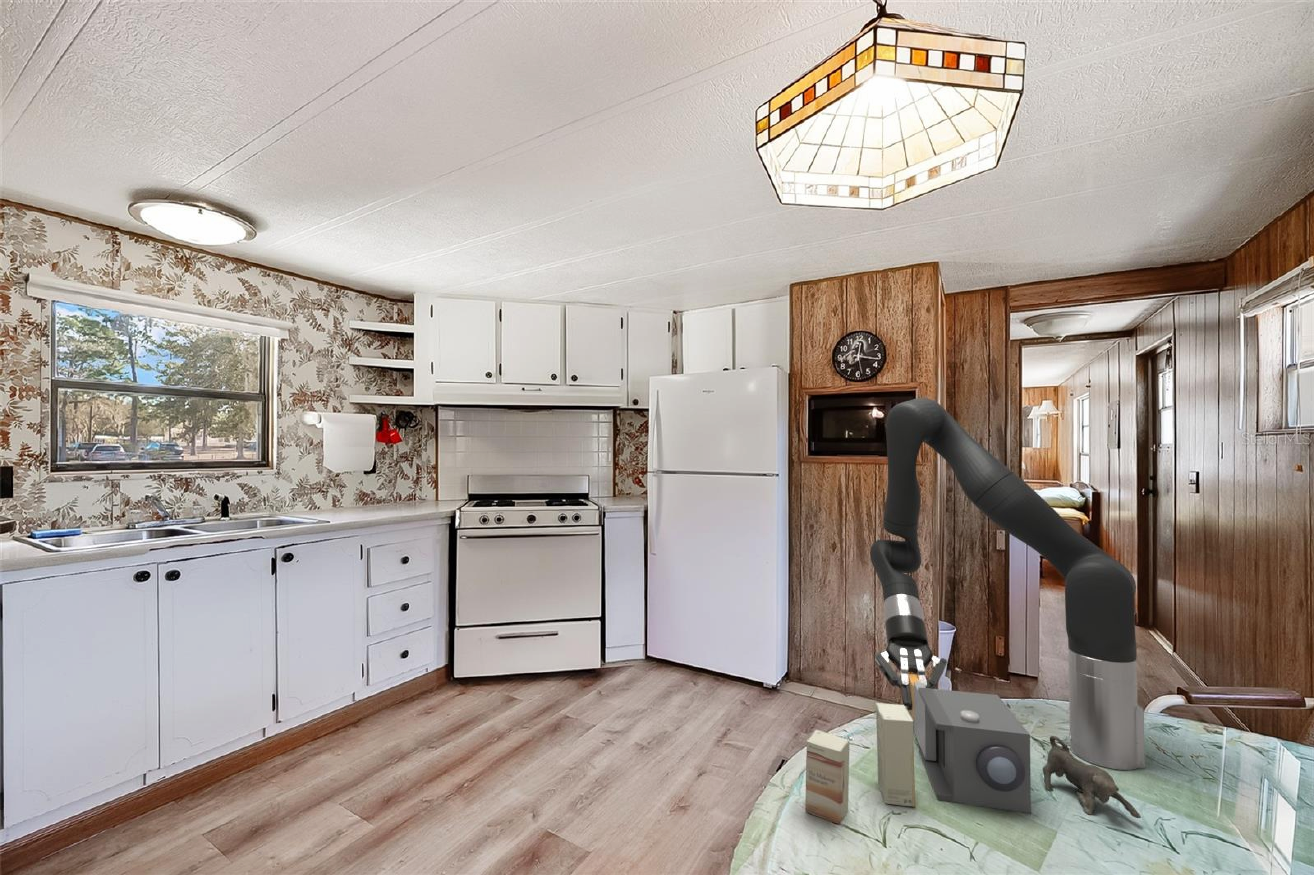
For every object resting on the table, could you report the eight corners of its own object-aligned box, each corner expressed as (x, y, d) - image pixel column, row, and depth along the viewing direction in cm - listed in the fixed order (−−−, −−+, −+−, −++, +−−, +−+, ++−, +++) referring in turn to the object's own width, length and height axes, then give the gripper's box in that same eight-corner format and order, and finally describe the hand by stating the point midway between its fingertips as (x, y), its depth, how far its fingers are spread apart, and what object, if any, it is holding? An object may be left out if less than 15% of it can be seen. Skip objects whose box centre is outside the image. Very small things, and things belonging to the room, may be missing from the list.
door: (916, 715, 110) (915, 668, 110) (936, 761, 93) (935, 706, 93) (907, 714, 110) (906, 668, 110) (925, 759, 93) (925, 704, 94)
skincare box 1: (804, 812, 81) (804, 740, 81) (814, 797, 85) (814, 728, 85) (841, 826, 78) (841, 751, 78) (850, 809, 82) (850, 738, 82)
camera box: (998, 762, 95) (997, 690, 95) (1034, 818, 80) (1033, 733, 80) (918, 752, 98) (918, 682, 98) (939, 804, 83) (938, 722, 83)
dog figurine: (1034, 783, 89) (1033, 734, 90) (1066, 779, 90) (1065, 731, 91) (1108, 832, 77) (1106, 775, 78) (1143, 827, 78) (1142, 771, 79)
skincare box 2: (916, 808, 82) (915, 722, 83) (883, 804, 83) (882, 719, 83) (906, 784, 88) (905, 704, 89) (875, 780, 89) (875, 701, 90)
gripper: (870, 610, 116) (878, 696, 104) (944, 615, 113) (961, 704, 101) (867, 629, 121) (875, 713, 109) (938, 634, 118) (954, 721, 106)
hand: (916, 708), depth 105 cm, fingers closed on door
